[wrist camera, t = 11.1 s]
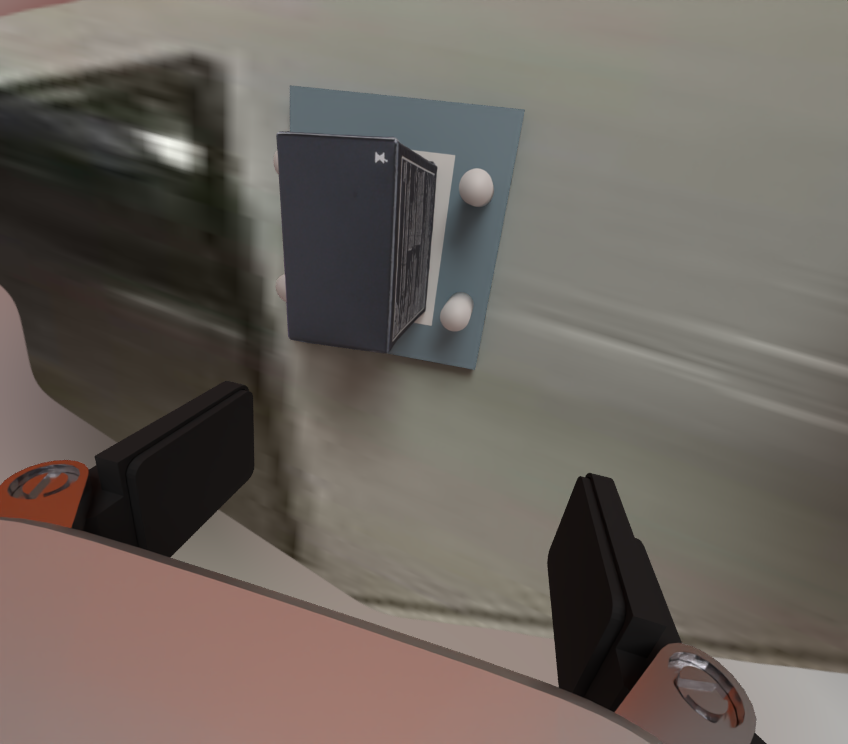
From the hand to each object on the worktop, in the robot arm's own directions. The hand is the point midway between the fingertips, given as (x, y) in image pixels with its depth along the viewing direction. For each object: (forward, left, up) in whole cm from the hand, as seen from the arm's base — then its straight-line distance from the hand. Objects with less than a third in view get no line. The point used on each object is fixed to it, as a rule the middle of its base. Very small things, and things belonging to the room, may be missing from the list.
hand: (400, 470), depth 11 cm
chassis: (+7, -4, -22) cm, 24 cm away
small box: (+6, -4, -21) cm, 23 cm away
